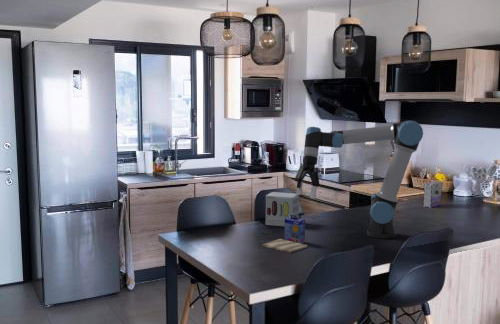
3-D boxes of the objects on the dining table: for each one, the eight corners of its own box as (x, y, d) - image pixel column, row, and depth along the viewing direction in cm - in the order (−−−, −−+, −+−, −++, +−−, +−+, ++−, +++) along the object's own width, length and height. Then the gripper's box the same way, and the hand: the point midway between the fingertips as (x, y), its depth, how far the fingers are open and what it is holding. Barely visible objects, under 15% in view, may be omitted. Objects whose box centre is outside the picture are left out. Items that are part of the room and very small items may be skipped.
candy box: (433, 204, 363) (434, 181, 361) (441, 205, 358) (442, 182, 356) (422, 206, 354) (423, 183, 352) (430, 208, 350) (431, 184, 348)
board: (307, 247, 257) (307, 245, 257) (290, 253, 247) (290, 251, 247) (280, 240, 270) (280, 238, 270) (262, 246, 260) (262, 244, 260)
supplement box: (265, 225, 304) (264, 195, 302) (272, 220, 316) (272, 191, 314) (293, 227, 298) (293, 197, 295) (299, 222, 310) (299, 193, 308)
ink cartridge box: (283, 241, 269) (283, 214, 267) (289, 239, 273) (290, 212, 271) (299, 244, 262) (299, 216, 261) (305, 242, 267) (305, 215, 265)
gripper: (316, 161, 280) (312, 199, 277) (291, 151, 261) (286, 192, 258) (328, 161, 275) (324, 200, 272) (303, 151, 256) (298, 193, 253)
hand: (305, 196), depth 265 cm, fingers open, 13 cm apart
